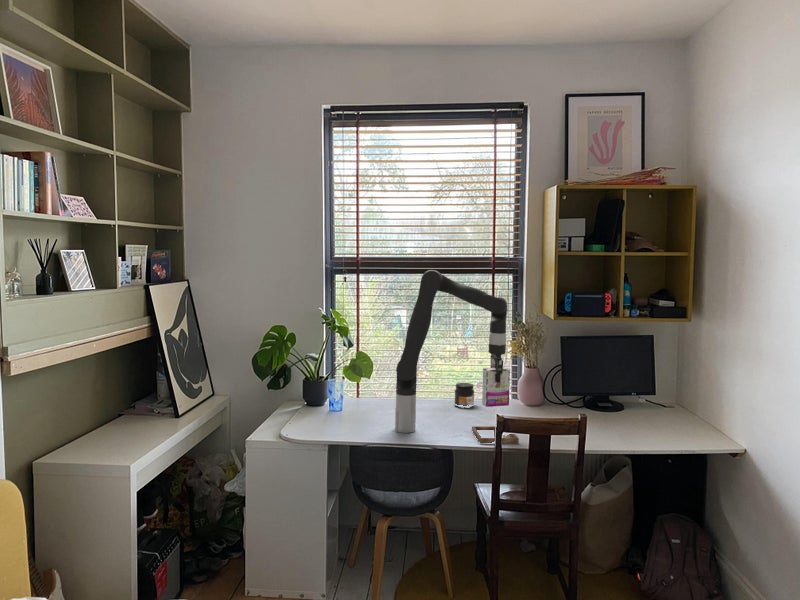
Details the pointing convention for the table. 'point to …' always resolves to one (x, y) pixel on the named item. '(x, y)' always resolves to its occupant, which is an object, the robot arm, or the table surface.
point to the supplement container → (464, 394)
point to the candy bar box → (495, 388)
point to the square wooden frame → (505, 440)
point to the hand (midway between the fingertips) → (496, 380)
